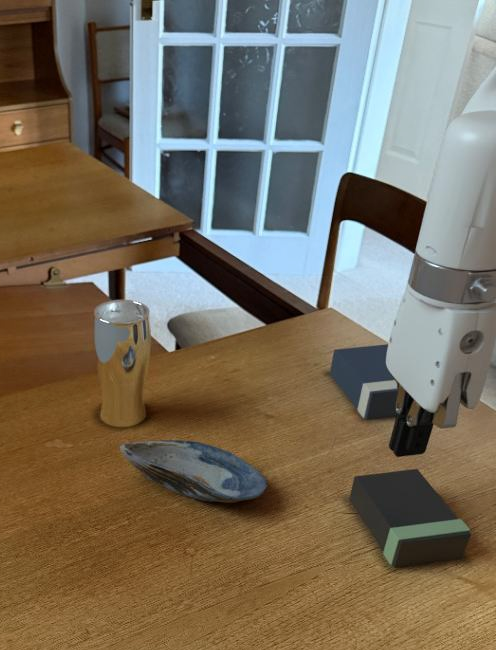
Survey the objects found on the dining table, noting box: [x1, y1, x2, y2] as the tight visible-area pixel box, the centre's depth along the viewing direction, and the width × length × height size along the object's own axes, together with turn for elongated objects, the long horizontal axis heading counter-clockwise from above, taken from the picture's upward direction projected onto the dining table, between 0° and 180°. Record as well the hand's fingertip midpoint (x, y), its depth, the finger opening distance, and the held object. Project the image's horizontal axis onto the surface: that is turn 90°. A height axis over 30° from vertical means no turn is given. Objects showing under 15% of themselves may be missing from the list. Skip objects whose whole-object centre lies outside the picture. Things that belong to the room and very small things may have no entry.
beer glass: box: [92, 299, 152, 428], centre depth 92 cm, size 7×7×15 cm
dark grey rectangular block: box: [348, 468, 472, 569], centre depth 77 cm, size 8×4×11 cm
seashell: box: [119, 439, 268, 503], centre depth 83 cm, size 15×12×5 cm
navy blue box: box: [329, 343, 400, 421], centre depth 98 cm, size 8×5×12 cm
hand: (406, 450), depth 75 cm, fingers closed
